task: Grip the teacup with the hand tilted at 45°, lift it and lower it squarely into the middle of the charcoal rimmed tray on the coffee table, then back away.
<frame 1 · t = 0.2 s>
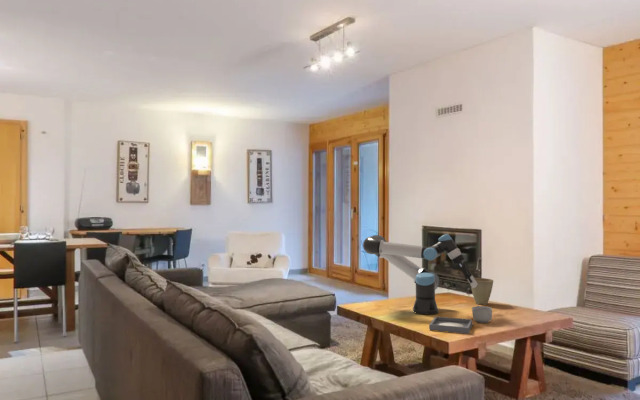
hand: (475, 286, 305), 16 cm above the table, tool tilted 35°, fingers open, 13 cm apart
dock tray: (451, 327, 267), on the table
plant pot: (481, 303, 330), on the table
teacup: (481, 321, 281), on the table
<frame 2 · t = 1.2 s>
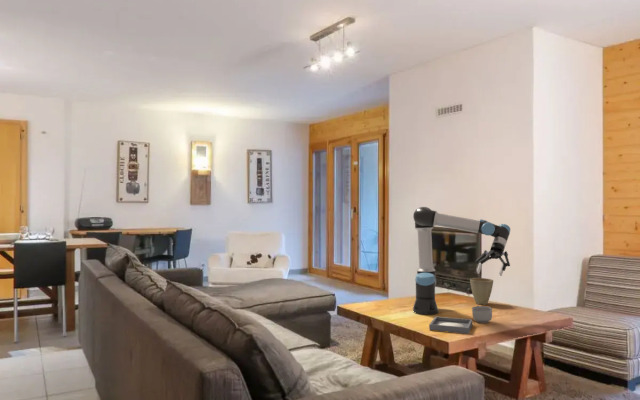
hand: (488, 273, 289), 26 cm above the table, tool tilted 45°, fingers open, 13 cm apart
nothing on the table moved.
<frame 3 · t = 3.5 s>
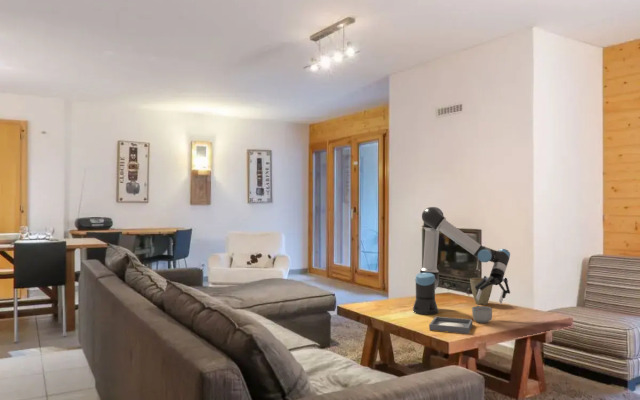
hand: (488, 300, 285), 11 cm above the table, tool tilted 45°, fingers open, 13 cm apart
nothing on the table moved.
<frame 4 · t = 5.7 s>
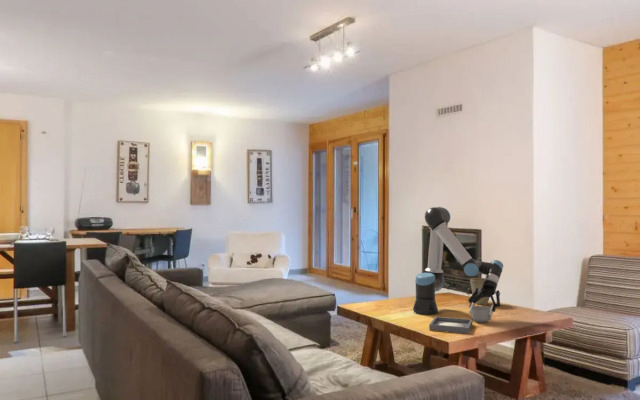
hand: (480, 314, 279), 4 cm above the table, tool tilted 45°, fingers closed on teacup, 11 cm apart
teacup: (480, 321, 281), on the table, touching gripper
everything else where it was.
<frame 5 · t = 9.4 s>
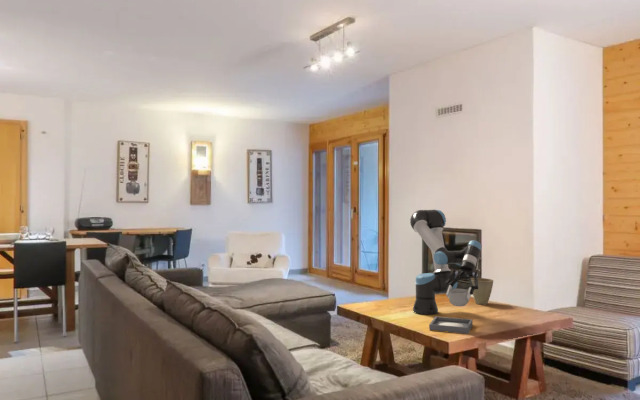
hand: (457, 297, 266), 16 cm above the table, tool tilted 45°, fingers closed on teacup, 11 cm apart
teacup: (458, 304, 269), point 12 cm above the table, touching gripper
everything else where it was.
when the fingers open (6 cm above the table, at t = 13.0 s): teacup stays where it is, resting on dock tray.
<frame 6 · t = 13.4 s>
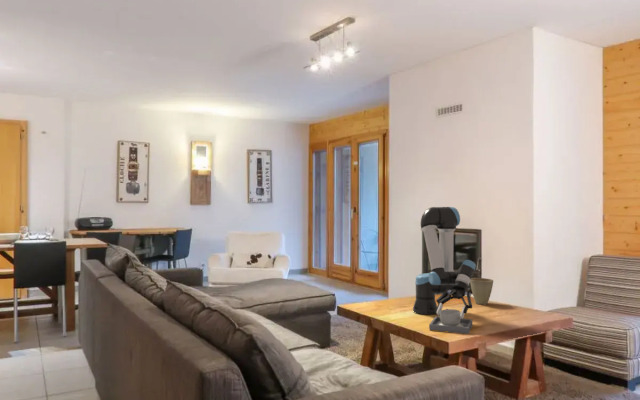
hand: (449, 315, 265), 7 cm above the table, tool tilted 45°, fingers open, 13 cm apart
teacup: (449, 325, 267), point 1 cm above the table, touching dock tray
everything else where it was.
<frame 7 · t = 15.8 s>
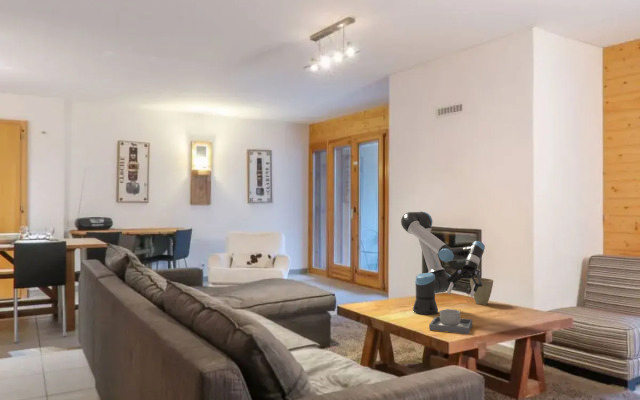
hand: (459, 294, 275), 17 cm above the table, tool tilted 45°, fingers open, 13 cm apart
nothing on the table moved.
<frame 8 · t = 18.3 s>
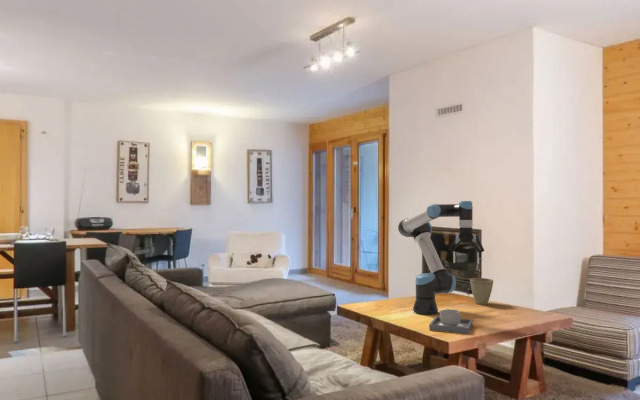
hand: (466, 263, 291), 32 cm above the table, tool pointing down, fingers open, 13 cm apart
nothing on the table moved.
at the end: teacup inside the target area on the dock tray (0.7 cm from its centre), point 0.9 cm above the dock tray's base; teacup tilted 0°; the gripper is holding nothing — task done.
